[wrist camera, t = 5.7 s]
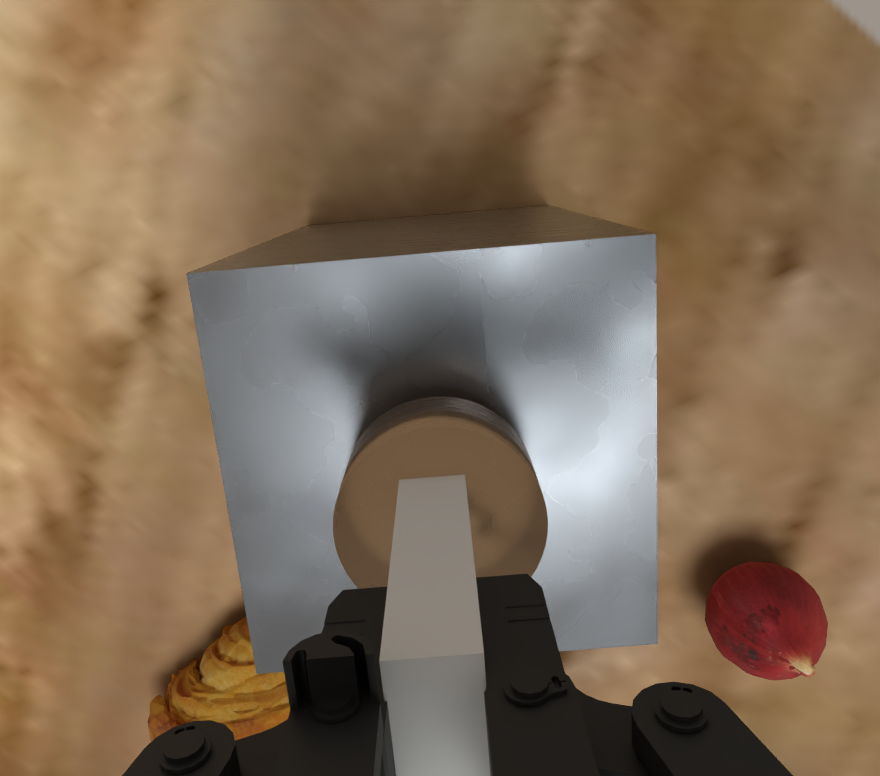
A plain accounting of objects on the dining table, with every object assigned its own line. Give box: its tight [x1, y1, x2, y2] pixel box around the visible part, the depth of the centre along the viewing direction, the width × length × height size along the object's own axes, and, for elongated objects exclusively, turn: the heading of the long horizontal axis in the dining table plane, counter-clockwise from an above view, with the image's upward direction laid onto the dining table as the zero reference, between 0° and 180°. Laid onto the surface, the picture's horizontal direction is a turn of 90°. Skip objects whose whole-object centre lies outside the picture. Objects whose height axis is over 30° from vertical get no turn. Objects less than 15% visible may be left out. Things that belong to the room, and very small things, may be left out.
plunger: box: [333, 396, 548, 589], centre depth 27 cm, size 9×9×20 cm
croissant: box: [148, 616, 290, 742], centre depth 42 cm, size 14×16×8 cm
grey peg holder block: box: [187, 205, 658, 674], centre depth 30 cm, size 12×12×19 cm
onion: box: [705, 562, 828, 680], centre depth 39 cm, size 6×6×8 cm
